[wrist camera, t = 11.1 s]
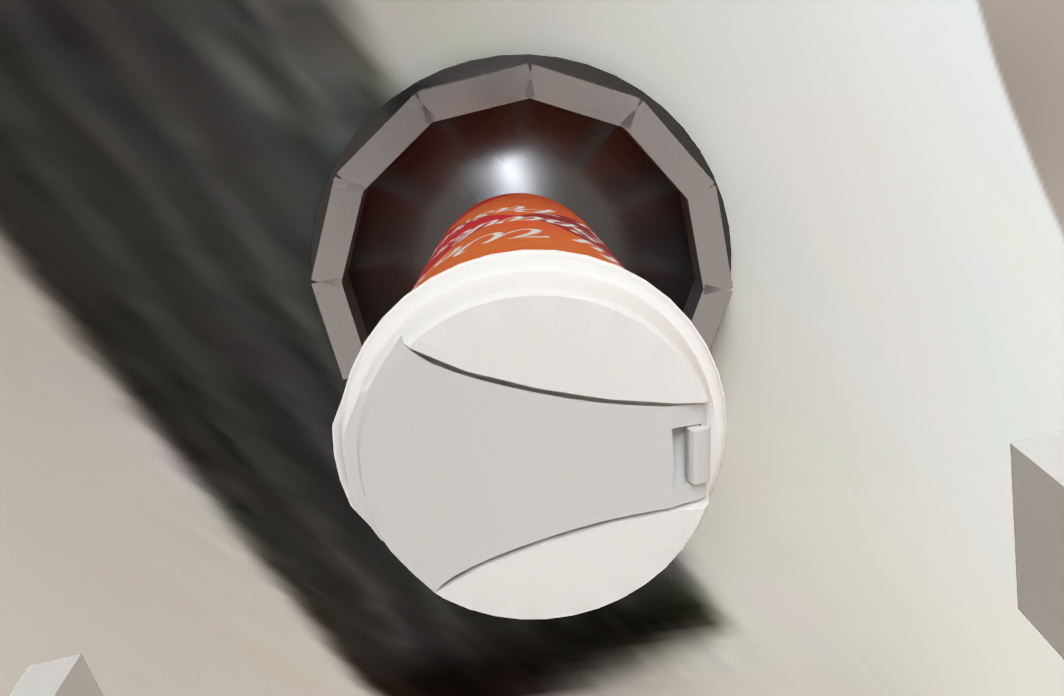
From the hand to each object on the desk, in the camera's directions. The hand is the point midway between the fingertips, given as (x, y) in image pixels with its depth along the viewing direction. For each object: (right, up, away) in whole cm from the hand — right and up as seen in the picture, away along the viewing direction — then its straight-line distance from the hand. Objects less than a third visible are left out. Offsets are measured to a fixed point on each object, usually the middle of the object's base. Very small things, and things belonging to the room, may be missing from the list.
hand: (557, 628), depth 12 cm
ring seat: (-1, +7, +20) cm, 21 cm away
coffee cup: (-1, +7, +19) cm, 21 cm away
